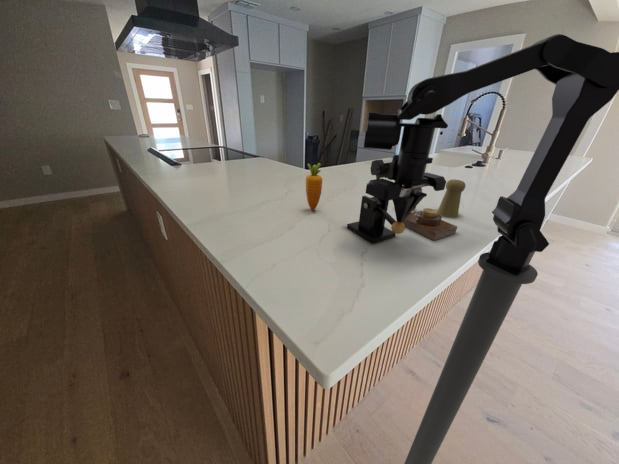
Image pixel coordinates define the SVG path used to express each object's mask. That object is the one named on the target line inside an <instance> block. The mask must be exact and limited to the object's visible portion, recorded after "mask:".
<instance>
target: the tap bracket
mask: <svg viewBox="0 0 619 464" xmlns="http://www.w3.org/2000/svg"><path fill="white" fill-rule="evenodd" d="M378 199H379V198H378ZM379 200H380V201H381V202H382V203H383V204H382V206H381V207H382V208H383V209H384V210H385V211H386V212H387V213H388V207H389V203H390V200H389V201H385V200H381V199H379ZM376 206H377V201H376V200H374V199H372V198H371V197H370V196H368V195H362V196H361V202H360V211H359V217H358V218H359V219H358V221H354V222H349V223H347V224H346V228H347V230H349V231H351V232H353V233H354V234H356V235H357V236H359V237H360V238H362V239H363V240H365V241H367V242H368V243H369V244H375V243H378V242H383V241H386V240H389V239H394V238H396V235H397V234H396V233H394V232H393V231H392V229H389V228H387V227H385V225H386V219H385V218H384V217H383V216H382V215H381V214H380V213H379V212H378V211H376Z"/></svg>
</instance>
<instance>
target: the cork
mask: <svg viewBox="0 0 619 464" xmlns="http://www.w3.org/2000/svg"><path fill="white" fill-rule="evenodd" d="M445 189H446V191H445V193H444V195H443V197H442V200H441V202H440V204H439V207H438V209H437V210H436V211H437V214H439V215H440V216H442V217H444V218H451V219H453V218H458V216H459V211H460V204H461V197H462V192H464V191H465V189H466V183H465V181H463V180H460V179H449V180H447V181H446V185H445Z"/></svg>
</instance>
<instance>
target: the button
mask: <svg viewBox="0 0 619 464" xmlns="http://www.w3.org/2000/svg"><path fill="white" fill-rule="evenodd" d="M421 211H422V216H424V217H427V218H436V214H438V213H437V211H438V210H436V209H433V208H430V207H429V208H428V207H424V208H422V210H421Z"/></svg>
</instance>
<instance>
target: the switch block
mask: <svg viewBox="0 0 619 464" xmlns="http://www.w3.org/2000/svg"><path fill="white" fill-rule="evenodd" d="M422 211H423V210H418V211H415V212H413V213H410V214H409V215H408V216H407V217H406V219H405V220H404V221H403V223H404V225H405V228H407V229H409V230H411V231H413V232H415V233H417V234H419V235H421V236H424V237H425V238H428V239H429V240H432V241H437V240H441V239H443V238H446V237H449V236H452V235H455V234H456V231H457V229H458V225H456V224H453V223H450V222H448V221H445V220H443V218H442V217H443V216H441V215H439V214H438V213H437V214H436V218H427V217H424V216H422Z"/></svg>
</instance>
